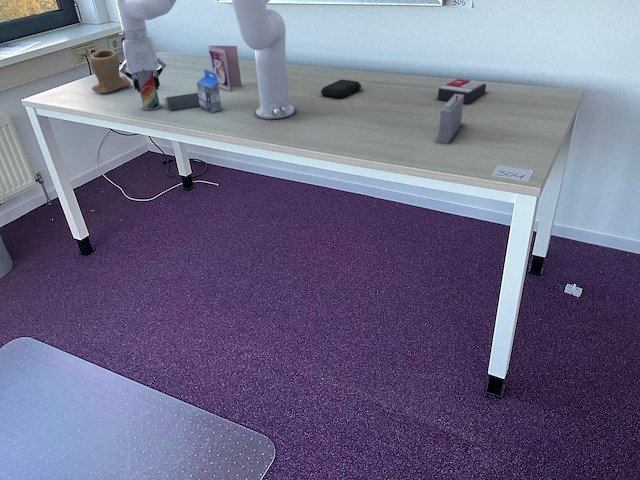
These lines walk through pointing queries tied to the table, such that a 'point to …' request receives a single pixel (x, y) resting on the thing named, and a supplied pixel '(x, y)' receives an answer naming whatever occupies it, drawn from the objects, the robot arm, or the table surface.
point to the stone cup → (107, 71)
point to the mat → (183, 101)
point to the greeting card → (225, 65)
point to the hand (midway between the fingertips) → (147, 89)
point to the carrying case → (341, 88)
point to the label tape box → (209, 92)
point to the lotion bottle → (148, 90)
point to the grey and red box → (462, 90)
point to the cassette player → (450, 118)
